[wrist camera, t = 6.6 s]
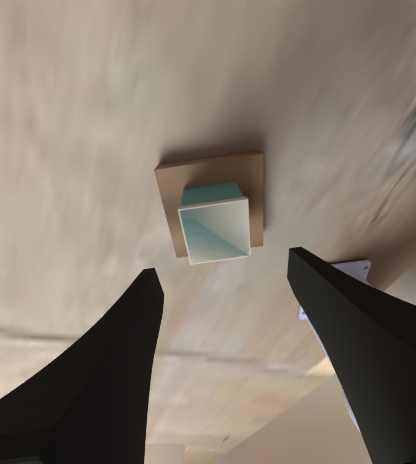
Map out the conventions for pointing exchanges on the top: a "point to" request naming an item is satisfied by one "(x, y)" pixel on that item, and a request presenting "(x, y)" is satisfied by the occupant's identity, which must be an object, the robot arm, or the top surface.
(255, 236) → the walnut block
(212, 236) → the teal tin
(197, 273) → the top surface
